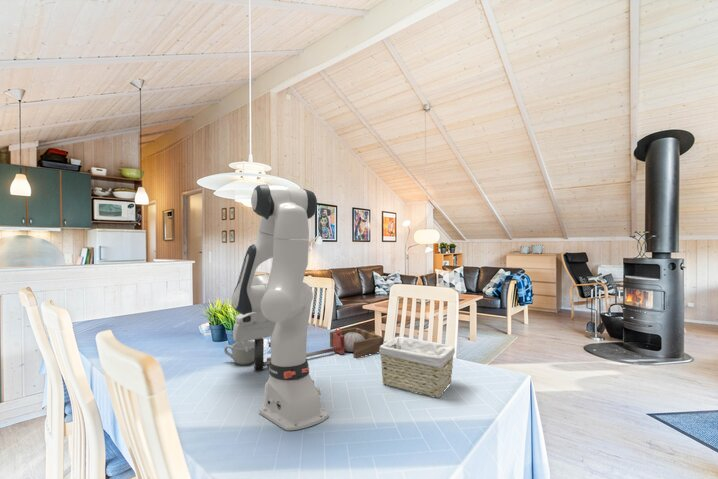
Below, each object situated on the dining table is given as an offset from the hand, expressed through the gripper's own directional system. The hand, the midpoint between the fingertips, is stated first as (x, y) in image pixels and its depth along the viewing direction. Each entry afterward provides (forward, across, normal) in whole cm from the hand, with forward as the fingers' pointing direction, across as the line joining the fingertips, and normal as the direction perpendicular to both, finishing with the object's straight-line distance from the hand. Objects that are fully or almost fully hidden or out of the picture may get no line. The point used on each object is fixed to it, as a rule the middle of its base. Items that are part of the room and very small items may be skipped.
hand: (259, 349), depth 141 cm
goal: (+10, -48, -1) cm, 49 cm away
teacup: (+8, +3, -14) cm, 17 cm away
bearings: (+9, -12, -1) cm, 15 cm away
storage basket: (+11, -42, +46) cm, 63 cm away
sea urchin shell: (+10, -46, -2) cm, 47 cm away
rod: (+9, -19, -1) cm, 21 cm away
